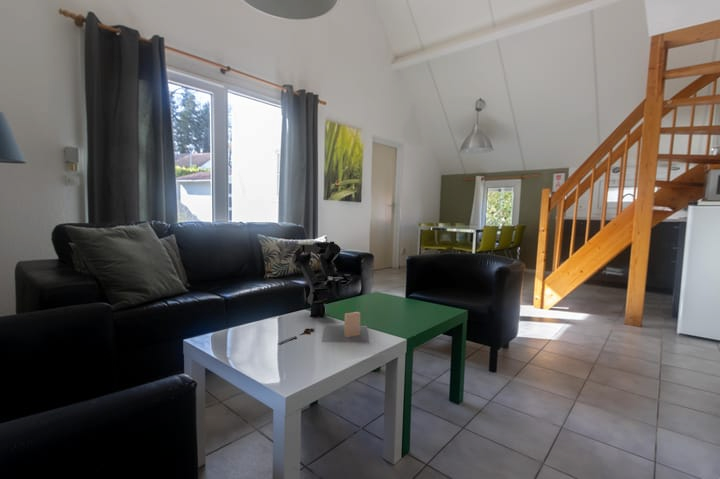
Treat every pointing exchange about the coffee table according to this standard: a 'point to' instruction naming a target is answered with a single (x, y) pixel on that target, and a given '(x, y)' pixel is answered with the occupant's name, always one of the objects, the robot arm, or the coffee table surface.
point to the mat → (337, 334)
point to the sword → (307, 331)
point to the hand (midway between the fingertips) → (337, 297)
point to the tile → (352, 324)
